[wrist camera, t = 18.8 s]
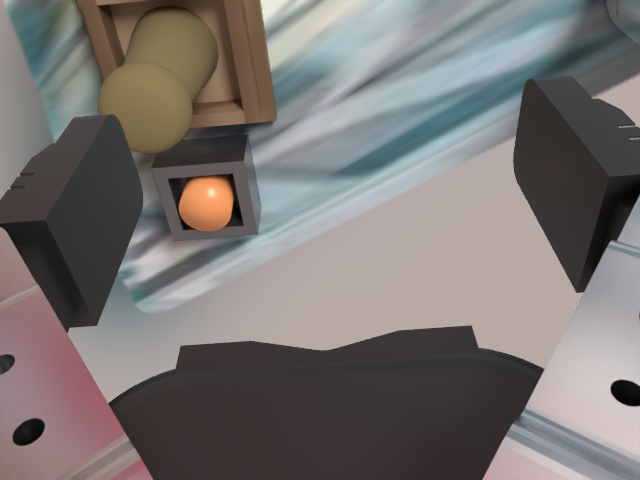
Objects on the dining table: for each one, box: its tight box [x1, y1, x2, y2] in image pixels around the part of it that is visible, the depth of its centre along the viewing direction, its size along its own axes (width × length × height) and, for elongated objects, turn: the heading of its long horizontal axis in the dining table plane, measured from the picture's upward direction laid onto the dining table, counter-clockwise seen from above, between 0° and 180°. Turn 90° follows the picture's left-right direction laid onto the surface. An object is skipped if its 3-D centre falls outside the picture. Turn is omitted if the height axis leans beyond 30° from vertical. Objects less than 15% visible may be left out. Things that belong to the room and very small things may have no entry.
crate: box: [77, 0, 277, 128], centre depth 39 cm, size 12×12×3 cm
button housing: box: [151, 135, 261, 241], centre depth 45 cm, size 7×7×4 cm
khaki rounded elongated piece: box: [98, 6, 219, 153], centre depth 35 cm, size 6×6×11 cm
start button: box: [179, 174, 236, 231], centre depth 44 cm, size 4×4×3 cm
